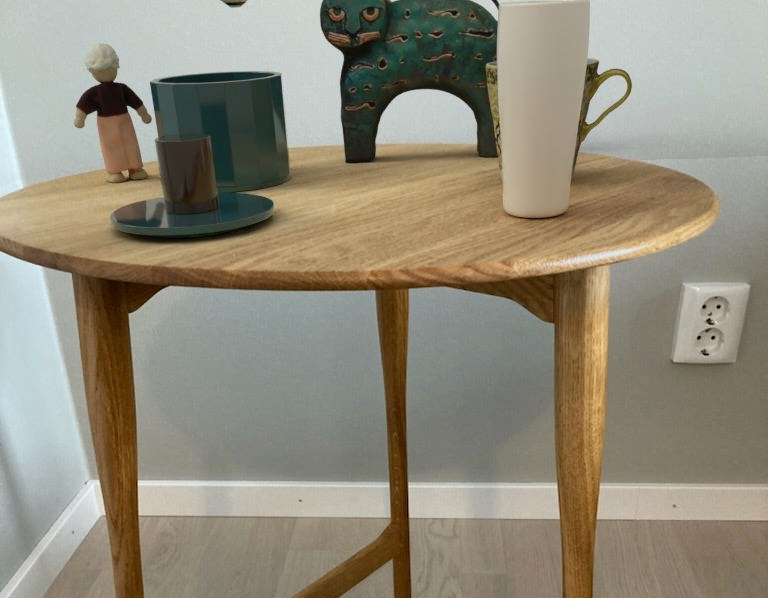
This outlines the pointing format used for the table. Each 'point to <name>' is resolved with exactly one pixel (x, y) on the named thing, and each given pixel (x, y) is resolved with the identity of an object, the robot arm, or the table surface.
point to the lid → (190, 196)
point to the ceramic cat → (409, 61)
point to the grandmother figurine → (112, 115)
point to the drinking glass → (540, 101)
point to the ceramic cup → (589, 90)
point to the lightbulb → (234, 3)
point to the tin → (230, 123)
